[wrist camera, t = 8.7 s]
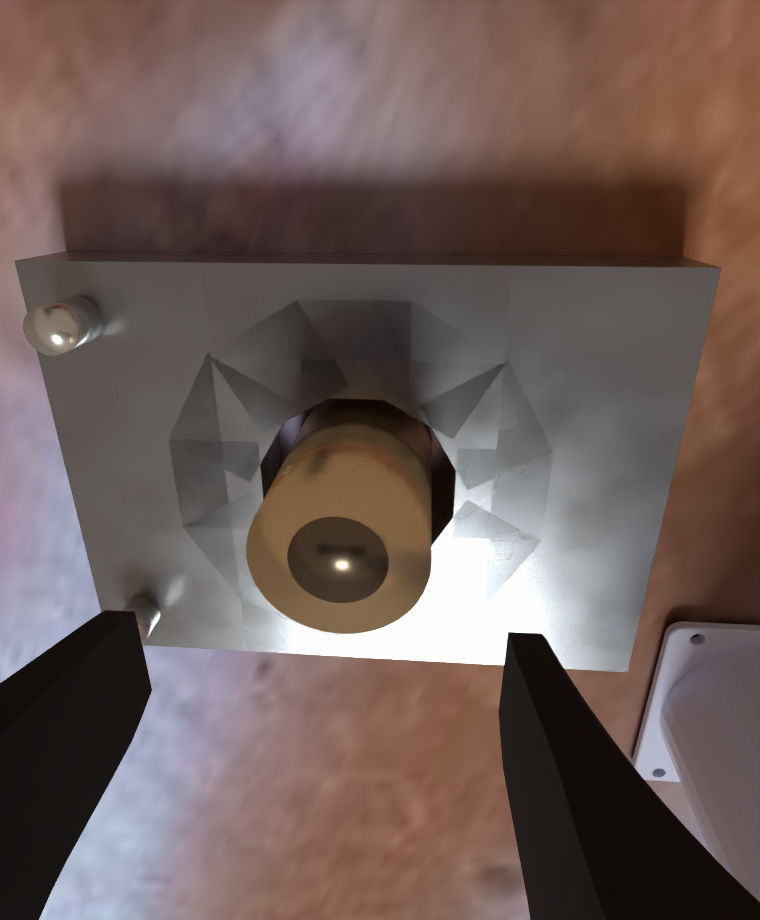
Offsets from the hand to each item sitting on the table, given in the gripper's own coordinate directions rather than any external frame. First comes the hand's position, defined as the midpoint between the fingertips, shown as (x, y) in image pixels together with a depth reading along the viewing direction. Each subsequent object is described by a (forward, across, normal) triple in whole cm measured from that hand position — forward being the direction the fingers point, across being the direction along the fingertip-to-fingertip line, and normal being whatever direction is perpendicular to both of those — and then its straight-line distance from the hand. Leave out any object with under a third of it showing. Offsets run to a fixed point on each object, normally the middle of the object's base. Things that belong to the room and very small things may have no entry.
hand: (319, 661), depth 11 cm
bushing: (+9, 0, 0) cm, 9 cm away
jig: (+9, 0, 0) cm, 9 cm away
